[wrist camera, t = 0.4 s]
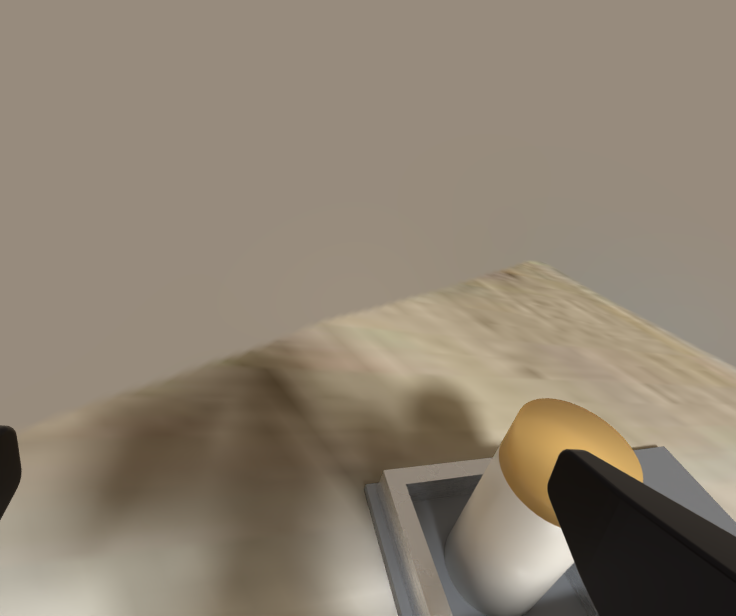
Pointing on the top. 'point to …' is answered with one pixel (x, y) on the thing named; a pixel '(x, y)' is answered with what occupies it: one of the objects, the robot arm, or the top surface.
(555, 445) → the orange and white cylinder
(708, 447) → the top surface
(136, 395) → the top surface
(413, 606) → the grey square frame
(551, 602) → the slate panel
